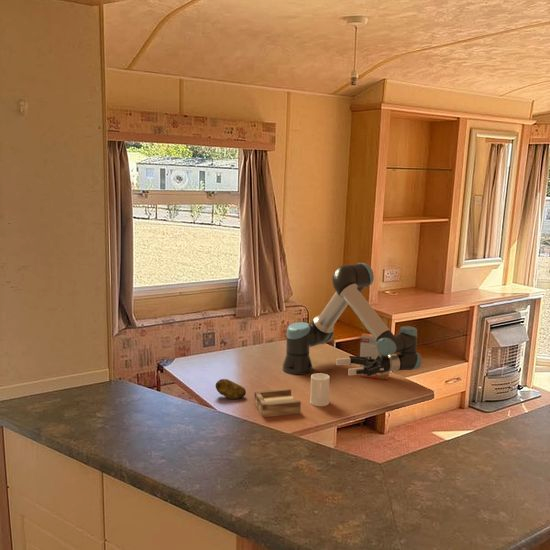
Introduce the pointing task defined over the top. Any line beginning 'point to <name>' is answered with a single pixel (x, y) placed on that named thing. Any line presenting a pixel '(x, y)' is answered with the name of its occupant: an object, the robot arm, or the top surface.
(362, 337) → the cracker box
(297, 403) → the display stand
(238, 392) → the potato
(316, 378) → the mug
